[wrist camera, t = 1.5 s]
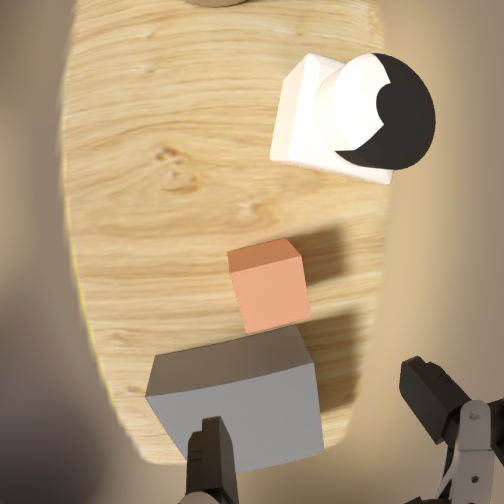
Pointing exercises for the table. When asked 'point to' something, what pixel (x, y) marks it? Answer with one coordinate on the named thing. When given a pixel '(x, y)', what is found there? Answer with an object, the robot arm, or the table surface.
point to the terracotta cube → (269, 284)
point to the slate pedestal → (243, 396)
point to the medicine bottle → (353, 117)
